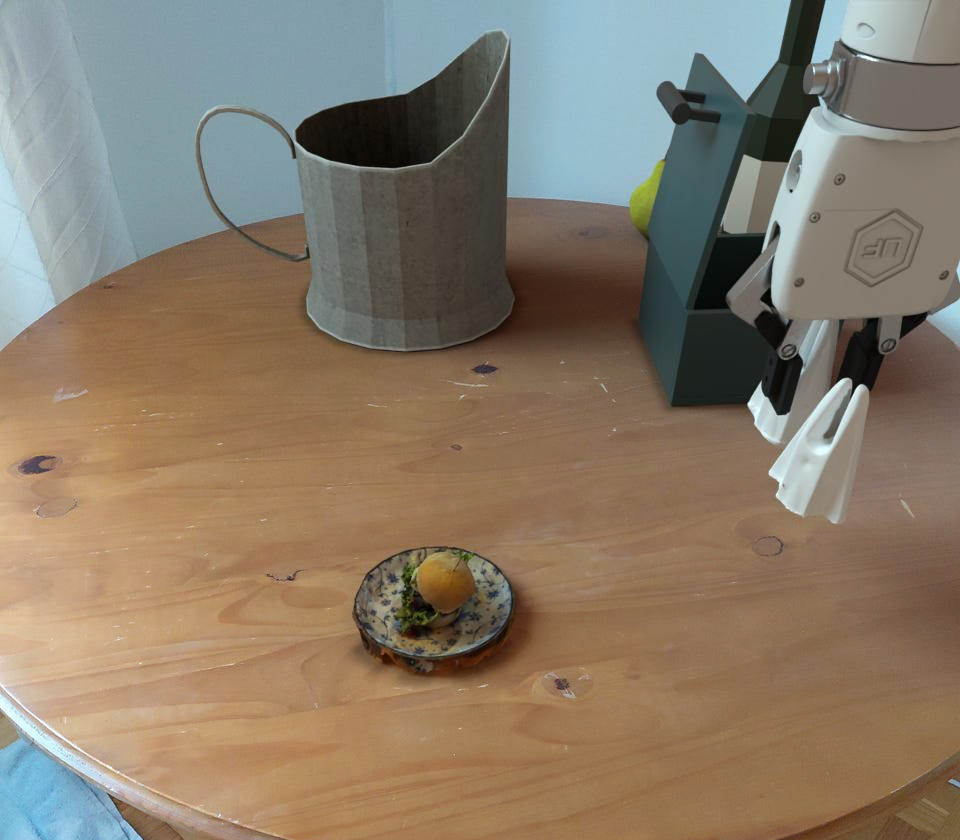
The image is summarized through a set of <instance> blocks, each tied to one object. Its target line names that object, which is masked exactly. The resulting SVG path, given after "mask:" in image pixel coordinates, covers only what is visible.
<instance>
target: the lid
mask: <svg viewBox="0 0 960 840" xmlns="http://www.w3.org/2000/svg"><path fill="white" fill-rule="evenodd" d="M655 93H656V94H655V95H656V98H657V100H658V102H659V103H660V104H661V106H662V108H663V109H664V110H665V112H666V113H667V115H668V116H669V118H670V119H671V121H672V122H673V123H674V129H673V131H672V135H671V139H670V144H669V146H668V148H669V150H668V149H667V150H668V154H667V157H666V161H665V165H664V168H663V172H662V176H661V179H660V183H659V187H658V190H657V194H656V198H655V201H654V205H653V209H652V212H651V216H650V220H649V223H648V227H647V232H648V235H649V237H650V239H651V241H652V243H653V245H654V247H655V249H656V251H657V253H658V255H659V257H660V259H661V261H662V263H663V265H664V267H665V270H666V272H667V274H668V276H669V278H670V280H671V282H672V284H673V286H674V288H675V290H676V292H677V294H678V296H679V298H680V300H681V302H682V305H683V307H684V308H685V309H693V307H694V304H695V301H696V298H697V295H698V292H699V289H700V286H701V283H702V279H703V276H704V273H705V270H706V267H707V264H708V261H709V258H710V255H711V252H712V249H713V246H714V243H715V240H716V237H717V234H719V231H720V228H721V226H722V223H723V218H724V213H725V210H726V207H727V204H728V201H729V198H730V195H731V192H732V189H733V186H734V183H735V180H736V177H737V174H738V171H739V168H740V165H741V162H742V158H743V155H744V152H745V149H746V146H747V143H748V140H749V137H750V134H751V131H752V128H753V125H754V122H755V119H756V116H757V115H756V114H755V113H754V111H753V110H752V109H751V108H750V107H749V106H748V105H747V103H746V101H745V100H744V99H743V97H742V96H741V95H740V94H739V93H738V92H737V90H735V88H734V87H733V86H732V85H731V84H730V83H729V82H728V80H727V79H726V78H725V77H724V76H723V75H722V73H720V71H719V70H718V68H716V67H715V66H714V64H712V62H711V61H710V60H709V59H708V58H707V56H706V55H705V54H704V53H700V52H695V53H694V56H693V58H692V62H691V66H690V70H689V73H688V78H687V82H686V84H685V88H684V89H682V88H681V89H680V88H677V87H676V85H675V84H674V83H673V82H672V81H671V80H664V81H662V82H661V83H660V84H659V85H658V86H657V87H656V90H655Z"/></svg>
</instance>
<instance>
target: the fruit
mask: <svg viewBox="0 0 960 840" xmlns="http://www.w3.org/2000/svg"><path fill="white" fill-rule="evenodd" d="M668 150H669V147H668V148H667V149H666V153H665V156H664V158H662V159H660V160H659V161H658V162H657V163H656V164H655V166H654V168H653V171H652V173H651V175H650V176H649V177H648V178H647V179H646V180H645V181H644V182H642V183H641V184H640V185H638V186H637V187H636V188H635V189H634V190H633V192H632V193H631V196H630V197H629V203H628V205H629V208H628V209H629V215H630V218H631V221H632V224H633V226H634V228H635V229H636V230H637V232H638V233H639V234H641V235H642V236H643V237H645V238H646V239H649V235H648V232H647V227H648V223H649V220H650V216H651V212H652V209H653V205H654V201H655V198H656V194H657V190H658V187H659V183H660V179H661V176H662V172H663V168H664V165H665V161H666V157H667V154H668Z"/></svg>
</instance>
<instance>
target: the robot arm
mask: <svg viewBox="0 0 960 840" xmlns="http://www.w3.org/2000/svg"><path fill="white" fill-rule="evenodd" d="M844 15H845V16H844V19H843V24H842V28H841V32H840V36H839V39H838V40H835V41H834V43H833V48H832V51H831V55H830V56H829V58H828V59H824V60H823V61H822V62H811V64H809V65H808V66H807V68H806V71H805V74H804V80H803V89H804V93H805V94H818V97H819V98H821V100H822V101H823V105H821V106H819V107H814V108H813V109H812V110H811V112H810V114H809V116H808V118H807V121H806V123H805V125H804V127H803V129H802V132H801V134H800V136H799V138H798V141H797V143H796V146H795V148H794V151H793V153H792V156H791V158H790V161H789V163H788V166H787V169H786V171H785V174H784V177H783V180H782V183H781V186H780V189H779V192H778V195H777V198H776V202H775V205H774V208H773V212H772V215H771V218H770V222H769V226H768V229H767V233H766V237H765V241H764V245H763V249H762V253H761V255H760V256H759V257H758V258H757V259H756V260H755V262H754V263H753V264H752V265H751V266H750V267H749V269H748V270H747V271H746V272H745V273H744V274H743V276H742V277H741V278H740V279H739V280H738V281H737V283H736V284H735V285H734V286H733V287H732V288H731V290H730V291H729V292H728V293H727V295H726V298H725V299H726V302H727V304H728V306H729V308H730V310H731V311H732V312H733V313H734V314H735V315H737V316H738V317H740V318H741V319H742V320H744V321H745V322H747V323H748V324H750V325H752V326H754V327H755V328H756V329H758V331H759V332H760V334H761V335H762V336H763V337H764V338H765V339H766V341H767V342H768V343H769V344H770V349H769V353H768V357H767V361H766V365H765V369H764V373H763V377H762V382H761V389H762V392H763V394H764V396H765V397H768V399H769V401H770V403H771V405H772V407H773V409H774V410H775V412H776V414H777V415H778V416H779V415H787V413H789V412H790V410H791V406H792V403H793V399H794V395H795V392H796V388H797V385H798V381H799V378H800V374H801V371H802V367H803V360H802V358H801V356H800V355H799V353H798V352H799V349H800V346H801V344H802V342H803V340H804V338H805V336H806V334H807V332H808V330H809V328H810V326H811V324H812V322H813V320H837V319H845V320H856V319H862V325H861V326H862V328H861V329H860V330H859V331H858V330H856V331H855V330H854V331H853V333H852V335H850V337H849V339H848V342H847V344H846V345H847V346H846V349H845V351H844V355H843V357H842V361H841V364H840V368H839V370H838V373H837V378H836V380H835V383H834V386H835V385H836V384H837V383H838V382H839V381H840V380H842V379H844V378H850V379H851V380H852V391H851V395H850V400H851V398H852V396H853V394H854V392H855V390H856V388H857V387H858V386H859V385H860V384H863V385H865V386H866V387H867V388H868V390H869V393H870V392H871V391H873V389H874V387H875V384H876V382H877V379H878V375H879V373H880V370H881V367H882V364H883V361H884V359H885V356H886V355H890V354H892V353H894V351H896V350H897V348H898V347H899V343H900V340H902V339H904V337H905V336H907V335H908V334H909V333H911V332H913V330H915V329H916V328H918V327H919V326H920V325H922V324H923V323H924V322H925V321H926V320H927V318H928V317H929V316H933V315H935V314H937V313H938V312H940V311H942V310H944V309H946V308H948V307H949V306H951V305H953V304H954V303H956V302H957V301H959V300H960V278H959V274H958V272H957V270H958V268H959V265H960V0H848V3H847V7H846V11H845V14H844ZM768 288H771V297H772V302H773V305H774V306H775V307H776V308H775V310H774V311H773V310H772V309H771V308H770V307H769V305H768V304H766V303H764V302H762V301H760V298H761V297H762V295H763V294H764V293H765V292H766V291H767V289H768ZM850 400H849V403H850ZM848 405H849V404H848Z"/></svg>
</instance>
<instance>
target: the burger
mask: <svg viewBox="0 0 960 840" xmlns="http://www.w3.org/2000/svg"><path fill="white" fill-rule="evenodd" d="M501 569H502V568H500V567H499V566H498V565H497V564H495V563H494V562H493V561H491V560H490V559H488V558H486V557H484V556H482V555H479V554H478V553H476V552H475V551H471V550H467V549H464V548H460V547H456V546H452V547H451V546H450V547H449V546H447V545H444V546H441V545H435V546H422V547H415V548H410V549H406V550H403V551H401V552H398V553H394V554H393V555H391V556H389V557H387V558H386V559H385V558H384V559H383V560H381V561H380V562H379V563H377V564H376V565H375V566H373V567H372V568H371V569H370V570H369V571H368V572H367V573H366V574H365V575H364V578H363V579H362V581H361V584H360V586H359V588H358V590H357V592H356V594H355V596H354V598H353V600H354V601H353V609H352V610H351V614H352V619H353V622H354V623H355V625H356V627H357V629H358V631H359V635H360V639H361V643H362V646H363V649H364V650H365V652H366V653H368V654H370V656H371V657H374V659H375V660H376V661H378V662H380V663H383V661H384V658H385V654H386V655H388V656H389V657H390V658H391V660H392V661H393V662H394V663H395V664H396V665H397V666H398V667H399V668H400V669H402V670H404V671H407V672H409V673H413V674H414V673H416V672H420V673H422V674H424V675H425V674H427V673H429V672H431V671H436V670H437V671H440V672H442V671H443V670H444V669H446V668H449V669H451V668H454V667H455V668H456V669H458V670H461V671H463V670H464V669H466V668H469V667H473V666H475V665H477V664H478V663H479V662H480V661H482V659H483V658H484V657H485V656H486V657H487V656H488V658H490V657H491V656H492V655H494V654H496V652H498V651H499V650H500V649H501V648H502V646H504V644H505V643H506V642H507V640H508V639H509V637H510V635H511V633H512V631H513V629H514V624H515V621H516V608H515V594H514V593H515V592H514V588H513V586H512V583H511V581H510V579H509V578H508V576H507V575H506V574H505V573H504V572H503V570H501Z"/></svg>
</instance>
